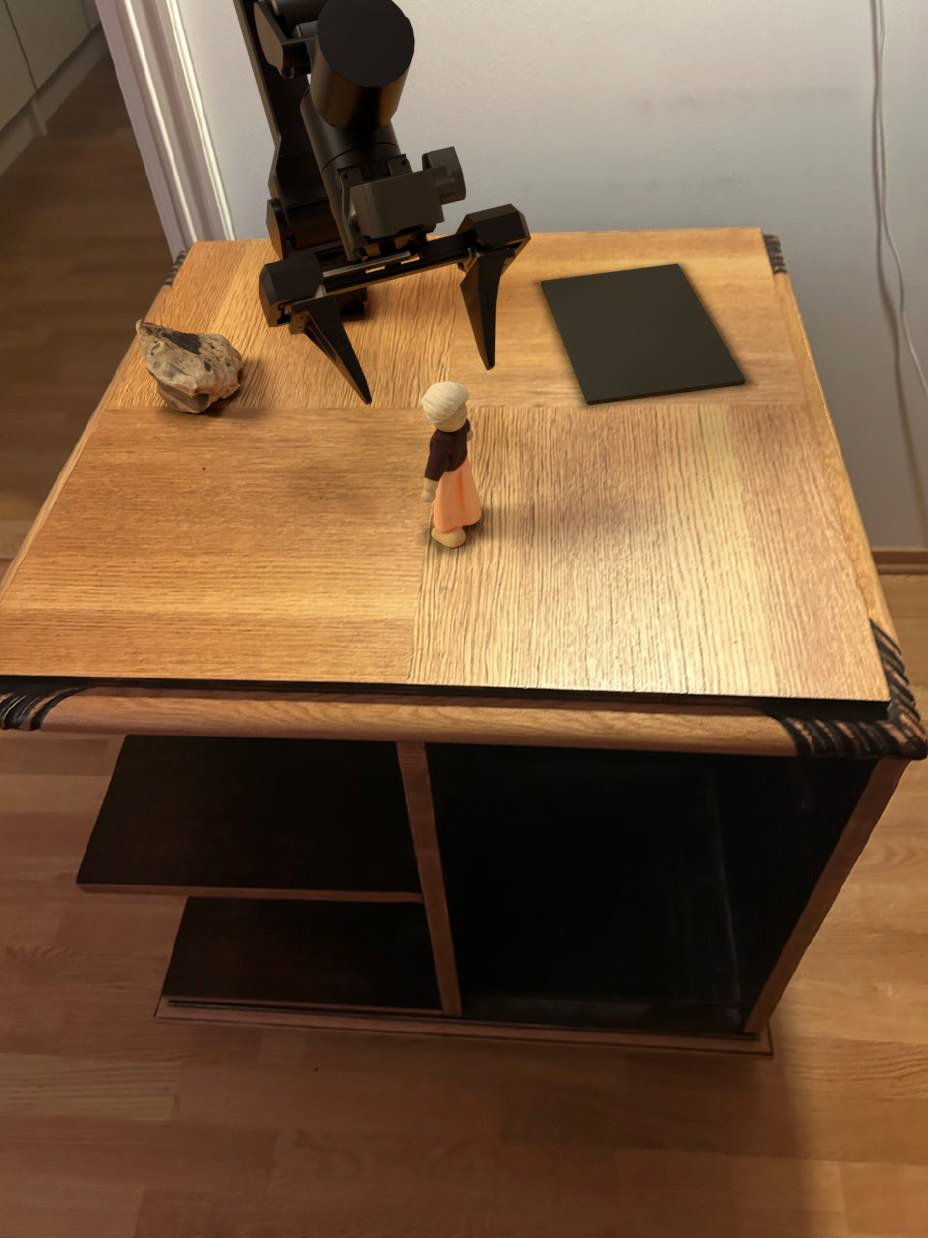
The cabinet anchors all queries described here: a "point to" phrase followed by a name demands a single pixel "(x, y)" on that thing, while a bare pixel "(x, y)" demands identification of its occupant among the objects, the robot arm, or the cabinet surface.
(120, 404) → the cabinet surface
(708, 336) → the mat
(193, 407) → the rock
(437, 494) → the grandmother figurine
